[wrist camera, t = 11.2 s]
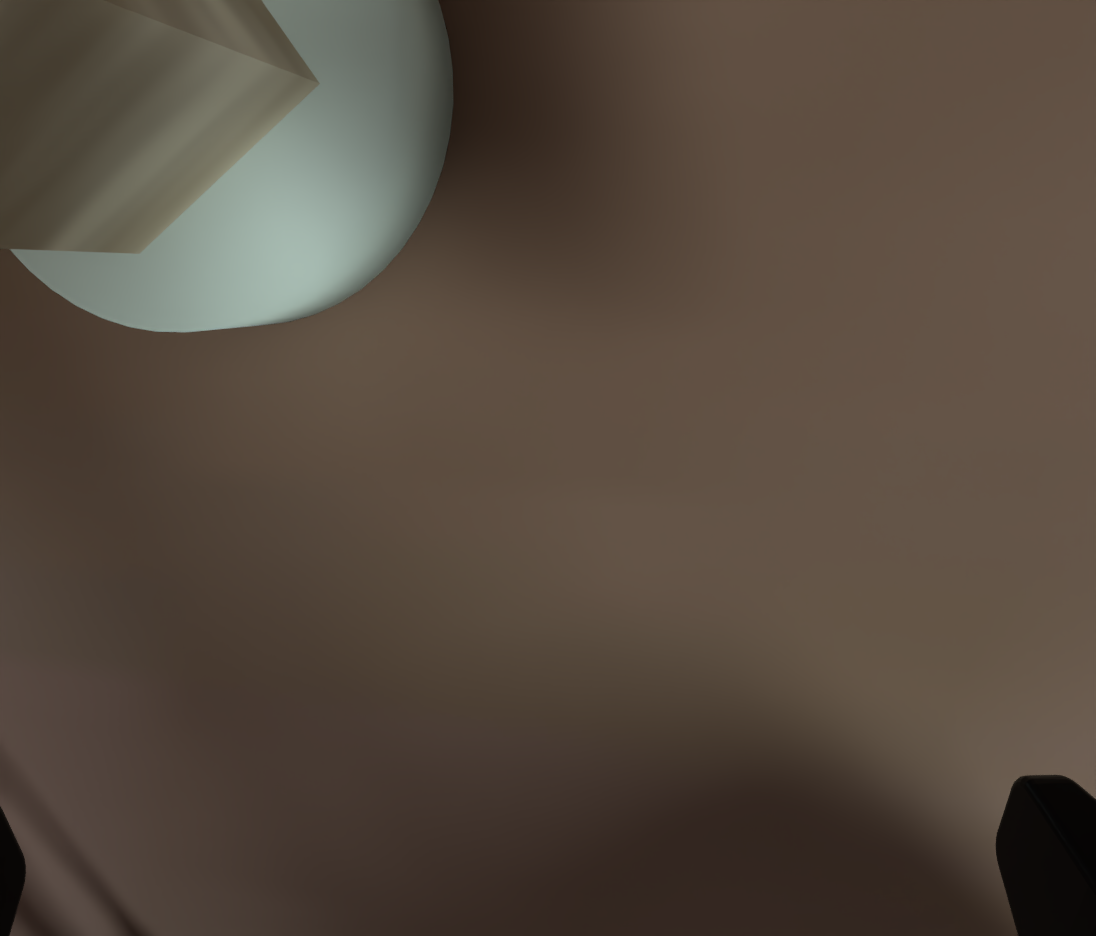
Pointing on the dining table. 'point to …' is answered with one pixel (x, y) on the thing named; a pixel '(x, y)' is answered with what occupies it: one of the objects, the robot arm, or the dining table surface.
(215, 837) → the dining table surface
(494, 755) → the dining table surface
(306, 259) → the plinth
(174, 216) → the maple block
